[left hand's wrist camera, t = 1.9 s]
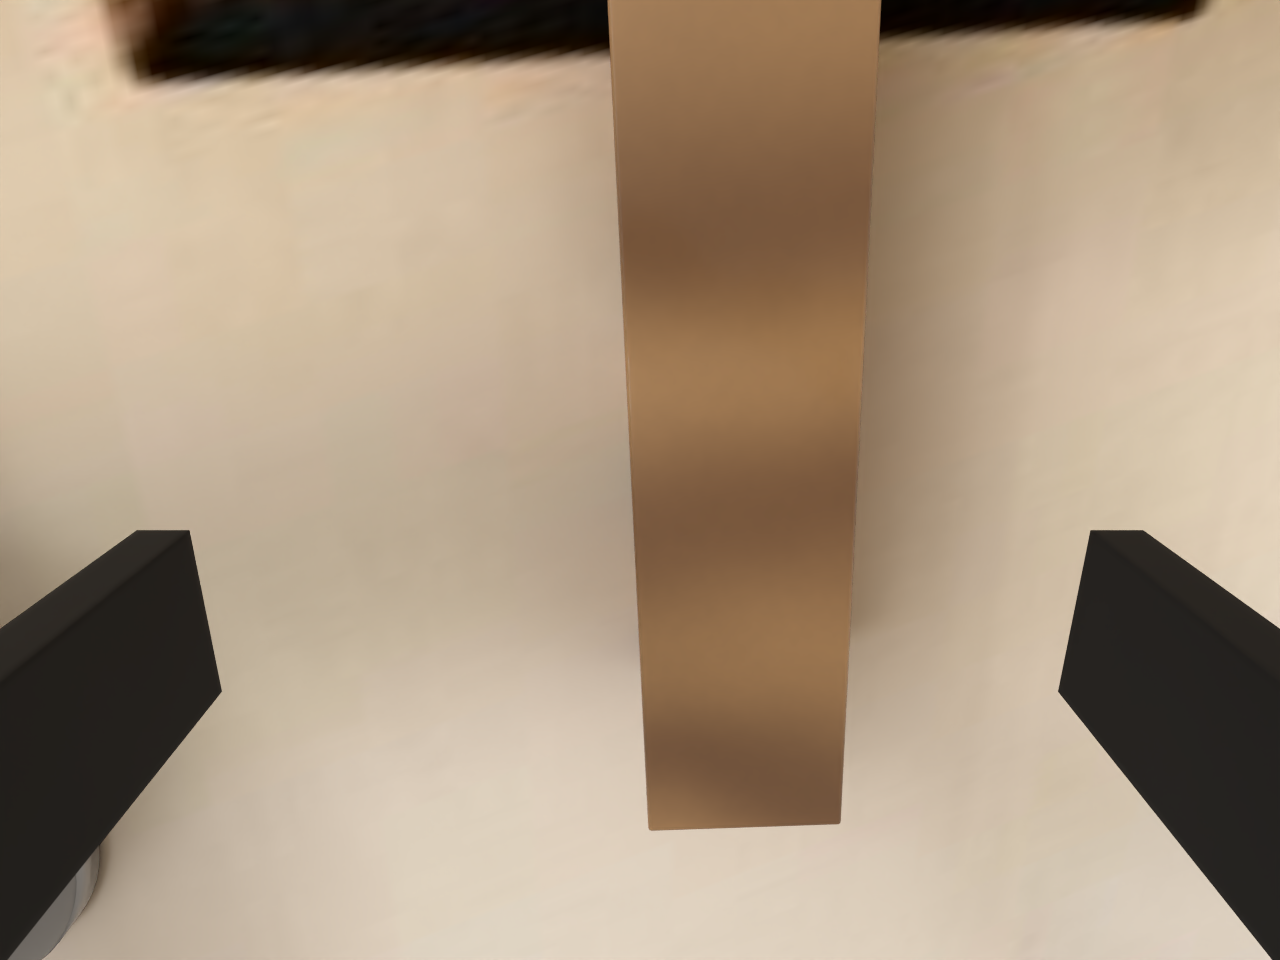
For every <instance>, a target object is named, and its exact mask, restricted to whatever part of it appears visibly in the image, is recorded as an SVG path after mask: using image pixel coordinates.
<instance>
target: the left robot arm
mask: <svg viewBox="0 0 1280 960" xmlns="http://www.w3.org/2000/svg"><path fill="white" fill-rule="evenodd" d="M221 692H222V690H221V685H220V680H219V675H218V670H217V665H216V660H215V655H214V650H213V645H212V640H211V635H210V630H209V625H208V620H207V615H206V610H205V605H204V600H203V595H202V590H201V585H200V581H199V576H198V571H197V566H196V561H195V556H194V551H193V546H192V541H191V536H190V531H189V530H137V531H135V532H134V533H133V534H131V535H130V536H128V537H127V538H126V539H124V540H123V541H121V542H120V543H119V544H117V545H116V546H114V547H113V548H112V549H110V550H109V551H108V552H106V553H105V554H103V555H102V556H101V557H99V558H98V559H96V560H95V561H94V562H92V563H91V564H89V565H88V566H87V567H85V568H84V569H83V570H81V571H80V572H78V573H77V574H76V575H74V576H73V577H71V578H70V579H69V580H67V581H66V582H64V583H63V584H62V585H60V586H59V587H58V588H56V589H55V590H53V591H52V592H51V593H49V594H48V595H46V596H45V597H44V598H42V599H41V600H40V601H38V602H37V603H35V604H34V605H33V606H31V607H30V608H28V609H27V610H26V611H24V612H23V613H21V614H20V615H19V616H17V617H16V618H15V619H13V620H12V621H10V622H9V623H8V624H6V625H5V626H3V627H2V628H1V629H0V960H42V959H43V958H44V957H45V956H46V955H48V954H49V953H50V952H51V951H52V950H53V948H54V947H55V946H56V945H57V944H58V943H59V942H60V940H61V939H62V938H63V936H64V935H65V934H66V932H67V931H68V930H69V928H70V927H71V926H72V924H73V923H74V922H75V920H76V919H77V918H78V916H79V915H80V914H81V912H82V911H83V909H84V908H85V906H86V905H87V903H88V901H89V899H90V897H91V895H92V893H93V890H94V887H95V884H96V881H97V876H98V870H99V858H100V851H99V845H100V844H101V842H102V841H103V840H104V839H105V837H106V836H107V835H108V833H109V832H110V831H111V830H112V828H113V827H114V826H115V825H116V823H117V822H118V821H119V820H120V818H121V817H122V816H123V815H124V813H125V812H126V811H127V810H128V808H129V807H130V806H131V805H132V803H133V802H134V801H135V800H136V798H137V797H138V796H139V795H140V793H141V792H142V791H143V790H144V788H145V787H146V786H147V785H148V783H149V782H150V781H151V780H152V778H153V777H154V776H155V775H156V773H157V772H158V771H159V770H160V768H161V767H162V766H163V765H164V763H165V762H166V761H167V760H168V758H169V757H170V756H171V755H172V753H173V752H174V751H175V750H176V748H177V747H178V746H179V745H180V743H181V742H182V741H183V740H184V738H185V737H186V736H187V735H188V733H189V732H190V731H191V730H192V728H193V727H194V726H195V725H196V723H197V722H198V721H199V720H200V718H201V717H202V716H203V715H204V713H205V712H206V711H207V710H208V708H209V707H210V706H211V705H212V703H213V702H214V701H215V700H216V698H217V697H218V696H219V694H220V693H221ZM1058 692H1059V693H1060V694H1061V696H1062V697H1063V698H1064V700H1065V701H1066V702H1067V703H1068V705H1069V706H1070V707H1071V708H1072V710H1073V711H1074V712H1075V713H1076V715H1077V716H1078V717H1079V718H1080V720H1081V721H1082V722H1083V723H1084V725H1085V726H1086V727H1087V728H1088V730H1089V731H1090V732H1091V733H1092V735H1093V736H1094V737H1095V738H1096V740H1097V741H1098V742H1099V743H1100V745H1101V746H1102V747H1103V748H1104V750H1105V751H1106V752H1107V753H1108V755H1109V756H1110V757H1111V758H1112V760H1113V761H1114V762H1115V763H1116V765H1117V766H1118V767H1119V768H1120V770H1121V771H1122V772H1123V773H1124V775H1125V776H1126V777H1127V778H1128V780H1129V781H1130V782H1131V783H1132V785H1133V786H1134V787H1135V788H1136V790H1137V791H1138V792H1139V793H1140V795H1141V796H1142V797H1143V798H1144V800H1145V801H1146V802H1147V803H1148V805H1149V806H1150V807H1151V808H1152V810H1153V811H1154V812H1155V813H1156V815H1157V816H1158V817H1159V818H1160V820H1161V821H1162V822H1163V823H1164V825H1165V826H1166V827H1167V828H1168V830H1169V831H1170V832H1171V833H1172V835H1173V836H1174V837H1175V839H1176V840H1177V841H1178V842H1179V844H1180V845H1181V846H1182V847H1183V849H1184V850H1185V851H1186V852H1187V854H1188V855H1189V856H1190V857H1191V859H1192V860H1193V861H1194V862H1195V864H1196V865H1197V866H1198V867H1199V869H1200V870H1201V871H1202V872H1203V874H1204V875H1205V876H1206V877H1207V879H1208V880H1209V881H1210V882H1211V884H1212V885H1213V886H1214V887H1215V889H1216V890H1217V891H1218V892H1219V894H1220V895H1221V896H1222V897H1223V899H1224V900H1225V901H1226V902H1227V904H1228V905H1229V906H1230V907H1231V909H1232V910H1233V911H1234V912H1235V914H1236V915H1237V916H1238V917H1239V919H1240V920H1241V921H1242V922H1243V924H1244V925H1245V926H1246V927H1247V929H1248V930H1249V931H1250V932H1251V934H1252V935H1253V936H1254V937H1255V939H1256V940H1257V941H1258V942H1259V944H1260V945H1261V946H1262V947H1263V949H1264V950H1265V951H1266V952H1267V954H1268V955H1269V956H1270V957H1271V959H1272V960H1280V629H1279V628H1278V627H1277V626H1275V625H1274V624H1272V623H1271V622H1270V621H1268V620H1267V619H1265V618H1264V617H1263V616H1261V615H1260V614H1259V613H1257V612H1256V611H1254V610H1253V609H1252V608H1250V607H1249V606H1247V605H1246V604H1245V603H1243V602H1242V601H1240V600H1239V599H1238V598H1236V597H1235V596H1234V595H1232V594H1231V593H1229V592H1228V591H1227V590H1225V589H1224V588H1222V587H1221V586H1220V585H1218V584H1217V583H1216V582H1214V581H1213V580H1211V579H1210V578H1209V577H1207V576H1206V575H1204V574H1203V573H1202V572H1200V571H1199V570H1197V569H1196V568H1195V567H1193V566H1192V565H1191V564H1189V563H1188V562H1186V561H1185V560H1184V559H1182V558H1181V557H1179V556H1178V555H1177V554H1175V553H1174V552H1172V551H1171V550H1170V549H1168V548H1167V547H1166V546H1164V545H1163V544H1161V543H1160V542H1159V541H1157V540H1156V539H1154V538H1153V537H1152V536H1150V535H1149V534H1147V533H1146V532H1145V531H1143V530H1091V531H1090V536H1089V541H1088V546H1087V551H1086V556H1085V561H1084V566H1083V571H1082V576H1081V581H1080V585H1079V590H1078V595H1077V600H1076V605H1075V610H1074V615H1073V620H1072V625H1071V630H1070V635H1069V640H1068V645H1067V650H1066V655H1065V660H1064V665H1063V670H1062V675H1061V680H1060V685H1059V690H1058Z"/></svg>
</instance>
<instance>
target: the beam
mask: <svg viewBox="0 0 1280 960" xmlns="http://www.w3.org/2000/svg"><path fill="white" fill-rule="evenodd" d="M880 14H881V0H608V19H609V39H610V60H611V80H612V100H613V120H614V141H615V161H616V181H617V202H618V222H619V242H620V262H621V283H622V303H623V323H624V344H625V364H626V384H627V404H628V425H629V445H630V465H631V486H632V506H633V526H634V546H635V567H636V587H637V607H638V628H639V648H640V668H641V688H642V709H643V729H644V749H645V770H646V790H647V810H648V828H649V830H651V831H654V830H683V829H712V828H740V827H769V826H798V825H827V824H840V821H841V804H842V783H843V763H844V743H845V723H846V702H847V682H848V662H849V642H850V622H851V601H852V581H853V561H854V541H855V520H856V500H857V480H858V460H859V439H860V419H861V399H862V379H863V358H864V338H865V318H866V298H867V278H868V257H869V237H870V217H871V197H872V176H873V156H874V136H875V116H876V95H877V75H878V55H879V35H880Z"/></svg>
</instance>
